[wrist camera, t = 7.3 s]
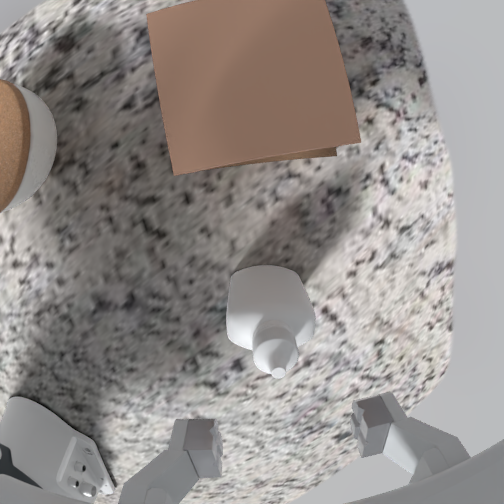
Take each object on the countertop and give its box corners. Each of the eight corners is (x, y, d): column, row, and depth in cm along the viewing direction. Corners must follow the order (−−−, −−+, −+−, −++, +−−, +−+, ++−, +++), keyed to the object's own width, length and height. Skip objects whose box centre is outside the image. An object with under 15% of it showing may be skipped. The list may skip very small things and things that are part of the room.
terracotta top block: (333, 147, 18) (361, 142, 14) (192, 172, 19) (174, 176, 14) (304, 21, 16) (320, -14, 11) (168, 44, 16) (146, 14, 12)
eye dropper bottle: (280, 318, 27) (301, 416, 15) (222, 290, 26) (206, 382, 14) (306, 276, 26) (349, 359, 14) (247, 245, 25) (248, 314, 13)
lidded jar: (92, 98, 21) (26, 75, 12) (63, 217, 24) (-5, 243, 15) (12, 88, 20) (-52, 76, 11) (-10, 190, 23) (-74, 206, 14)
